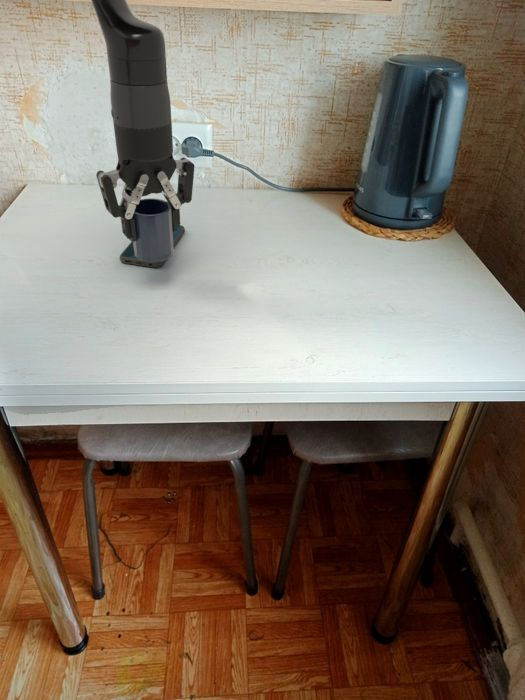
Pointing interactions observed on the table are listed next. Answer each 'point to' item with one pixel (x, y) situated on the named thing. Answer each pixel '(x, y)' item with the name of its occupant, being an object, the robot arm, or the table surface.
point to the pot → (153, 230)
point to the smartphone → (130, 258)
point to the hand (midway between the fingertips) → (152, 234)
